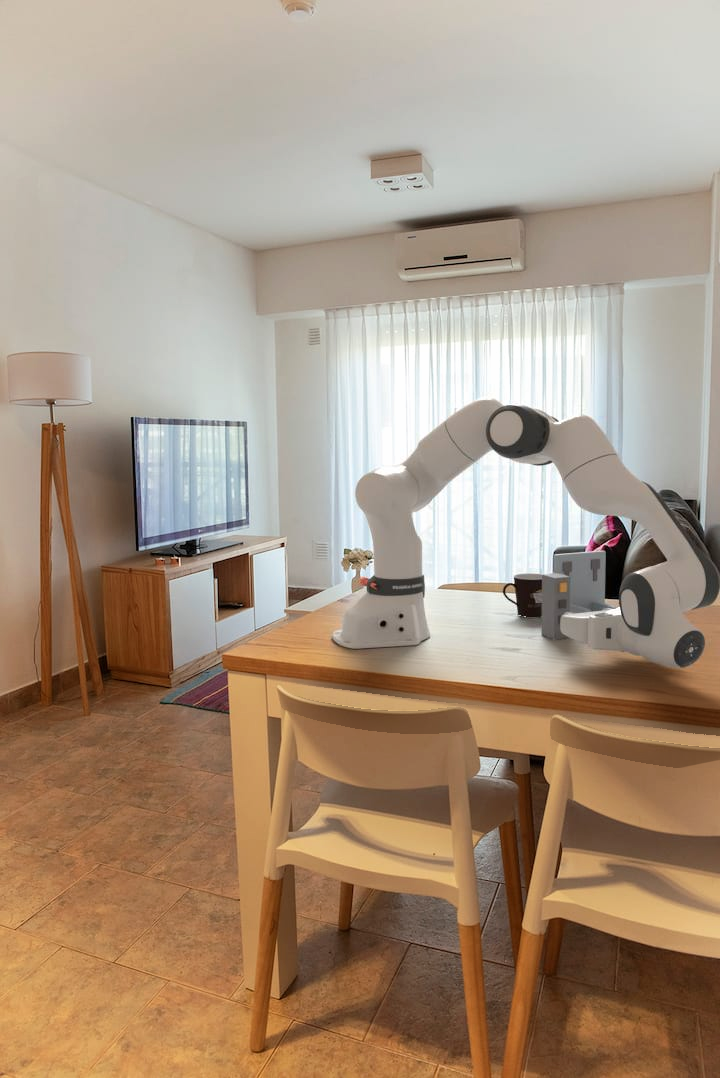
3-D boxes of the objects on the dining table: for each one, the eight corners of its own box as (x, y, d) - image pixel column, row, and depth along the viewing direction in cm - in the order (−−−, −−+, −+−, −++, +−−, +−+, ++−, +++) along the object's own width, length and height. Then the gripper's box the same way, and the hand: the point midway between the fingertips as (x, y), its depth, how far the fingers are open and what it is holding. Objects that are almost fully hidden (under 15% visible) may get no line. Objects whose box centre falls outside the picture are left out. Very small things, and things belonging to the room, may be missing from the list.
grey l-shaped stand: (577, 633, 170) (578, 560, 168) (552, 624, 180) (553, 554, 177) (628, 627, 175) (629, 555, 173) (601, 618, 184) (602, 550, 182)
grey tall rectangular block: (555, 640, 165) (556, 578, 163) (541, 634, 170) (542, 574, 168) (570, 638, 166) (571, 577, 164) (556, 633, 171) (557, 573, 169)
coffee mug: (545, 611, 193) (545, 573, 192) (550, 619, 185) (550, 579, 183) (500, 611, 194) (500, 573, 193) (503, 618, 186) (503, 579, 185)
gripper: (674, 608, 147) (627, 595, 160) (586, 617, 140) (545, 603, 153) (672, 639, 147) (626, 623, 160) (585, 650, 141) (544, 633, 154)
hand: (586, 613), depth 157 cm, fingers open, 8 cm apart
